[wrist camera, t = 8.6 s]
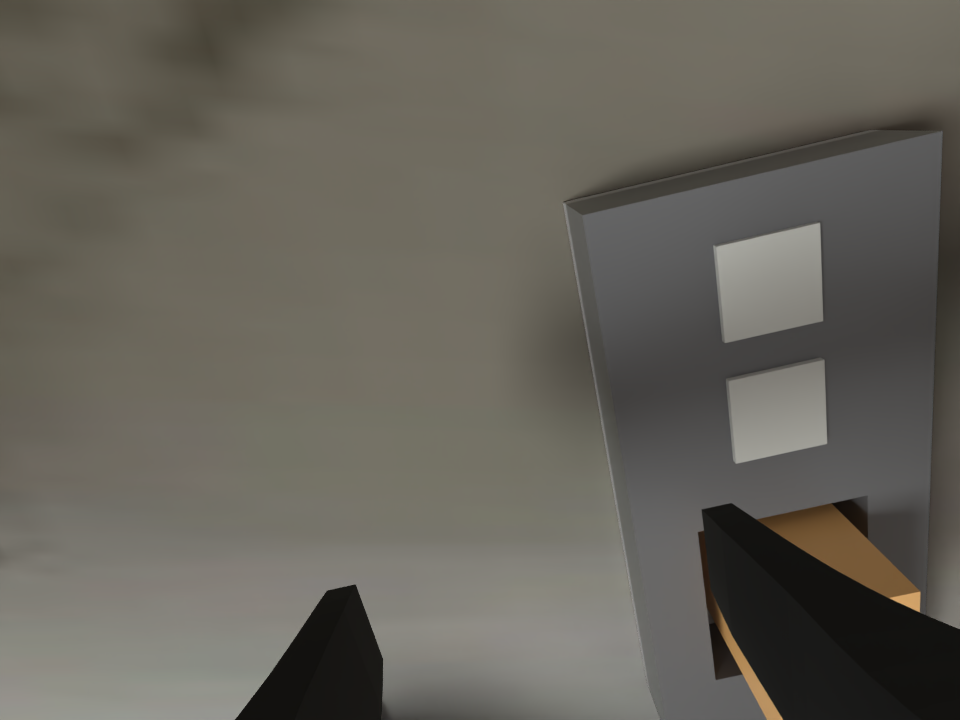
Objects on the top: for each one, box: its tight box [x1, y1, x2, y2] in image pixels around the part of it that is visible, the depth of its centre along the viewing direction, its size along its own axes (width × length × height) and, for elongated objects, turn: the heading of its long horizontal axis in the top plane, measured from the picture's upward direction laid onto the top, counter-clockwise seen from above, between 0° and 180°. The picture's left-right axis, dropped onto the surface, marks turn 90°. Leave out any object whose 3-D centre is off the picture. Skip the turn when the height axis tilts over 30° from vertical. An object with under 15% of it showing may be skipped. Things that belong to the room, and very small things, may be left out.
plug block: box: [698, 503, 920, 720], centre depth 21 cm, size 4×5×6 cm
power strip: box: [563, 130, 943, 720], centre depth 21 cm, size 10×20×3 cm, turn 13°
